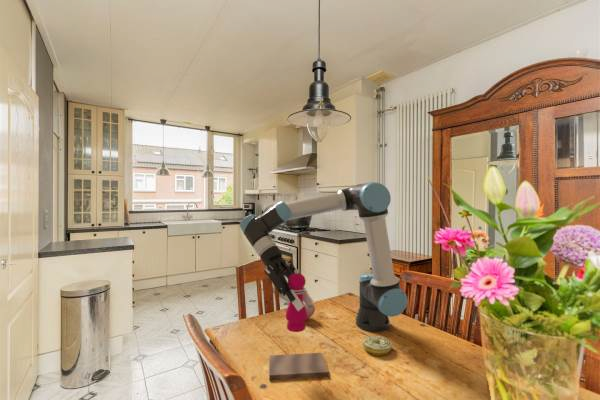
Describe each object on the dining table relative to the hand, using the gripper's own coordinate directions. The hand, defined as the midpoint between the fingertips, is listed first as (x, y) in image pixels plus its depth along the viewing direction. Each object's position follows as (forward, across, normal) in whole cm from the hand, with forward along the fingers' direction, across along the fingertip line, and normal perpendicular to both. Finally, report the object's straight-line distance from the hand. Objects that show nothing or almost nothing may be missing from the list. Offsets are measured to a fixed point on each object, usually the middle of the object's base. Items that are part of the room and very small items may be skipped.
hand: (305, 306), depth 97 cm
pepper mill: (+3, 0, -9) cm, 9 cm away
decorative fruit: (-1, -36, -32) cm, 48 cm away
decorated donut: (+26, -28, -5) cm, 38 cm away
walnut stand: (+13, 0, -18) cm, 22 cm away
